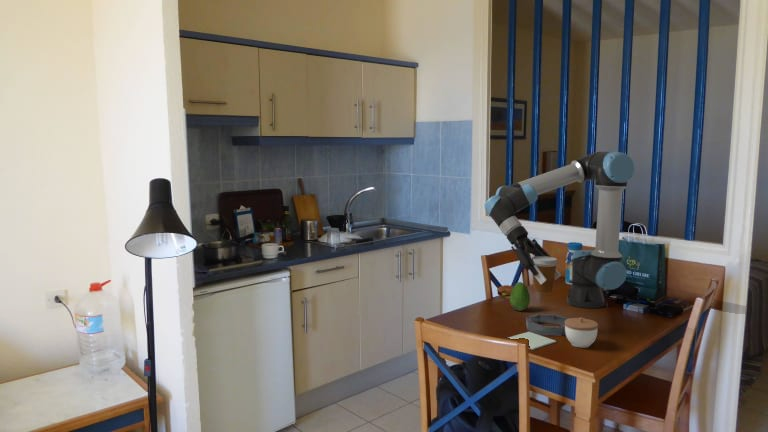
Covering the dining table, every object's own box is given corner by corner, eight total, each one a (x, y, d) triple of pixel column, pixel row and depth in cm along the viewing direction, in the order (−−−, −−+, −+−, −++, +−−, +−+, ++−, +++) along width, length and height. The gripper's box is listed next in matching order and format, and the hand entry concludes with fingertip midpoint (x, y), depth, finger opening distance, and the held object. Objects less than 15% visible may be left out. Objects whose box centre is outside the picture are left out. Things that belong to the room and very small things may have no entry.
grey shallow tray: (545, 319, 216) (545, 311, 216) (581, 329, 203) (581, 321, 203) (517, 326, 207) (517, 319, 207) (552, 338, 194) (552, 330, 194)
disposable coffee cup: (557, 295, 195) (559, 261, 194) (529, 293, 197) (531, 260, 196) (555, 288, 204) (556, 256, 203) (528, 286, 206) (529, 255, 205)
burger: (516, 293, 255) (516, 283, 254) (521, 299, 245) (521, 289, 245) (494, 294, 255) (495, 284, 254) (498, 299, 246) (499, 289, 245)
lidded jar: (589, 338, 194) (590, 312, 193) (602, 349, 183) (603, 322, 182) (559, 339, 193) (560, 313, 192) (570, 350, 183) (571, 323, 182)
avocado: (520, 314, 223) (521, 285, 221) (506, 309, 229) (506, 281, 228) (533, 310, 228) (534, 282, 226) (518, 306, 234) (519, 278, 232)
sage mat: (528, 332, 200) (528, 331, 200) (556, 342, 191) (556, 340, 191) (505, 339, 194) (505, 338, 194) (532, 349, 184) (532, 348, 184)
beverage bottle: (570, 280, 278) (572, 241, 276) (586, 283, 272) (587, 243, 269) (561, 283, 273) (562, 243, 270) (577, 286, 266) (578, 245, 264)
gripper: (523, 234, 217) (559, 280, 208) (490, 240, 202) (527, 291, 193) (536, 222, 213) (573, 269, 203) (503, 227, 197) (542, 278, 188)
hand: (551, 279), depth 198 cm, fingers closed on disposable coffee cup, 9 cm apart
